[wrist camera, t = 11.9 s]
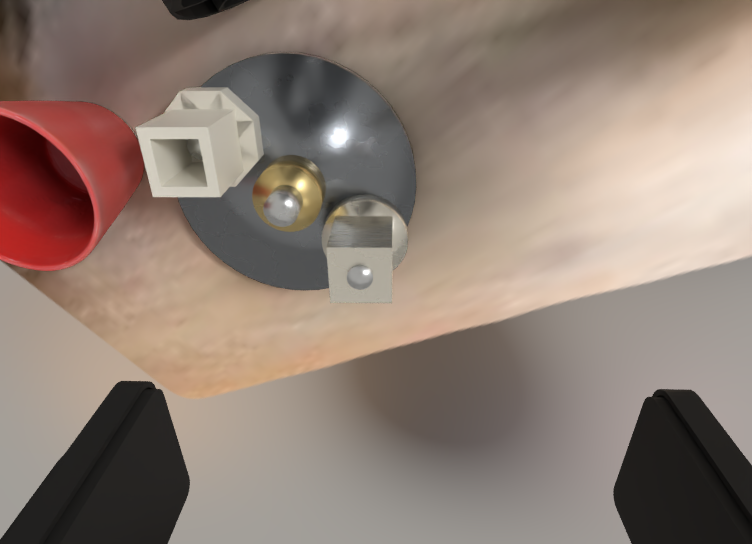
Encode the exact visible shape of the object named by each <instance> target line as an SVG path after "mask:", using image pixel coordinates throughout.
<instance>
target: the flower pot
mask: <svg viewBox="0 0 752 544" xmlns="http://www.w3.org/2000/svg"><path fill="white" fill-rule="evenodd" d="M143 171H144V161H143V156H142V152H141V148H140V144H139V142H138V140H137V138H136V136H135V135H134V133H133V132H132V130H131V129H130V128H129V127H128V126H127V124H126V123H125V122H124V121H123V120H122V119H121V118H119V117H118V116H117V115H116V114H114V113H113V112H111V111H110V110H108V109H106V108H104V107H102V106H99V105H96V104H93V103H88V102H70V101H0V260H2V261H5V262H7V263H10V264H13V265H16V266H19V267H23V268H28V269H33V270H41V271H54V270H61V269H65V268H68V267H71V266H73V265H75V264H77V263H79V262H81V261H82V260H84V259H85V258H86V257H87V256H88V255H89V254H90V253H91V252H92V250H93V249H94V248H95V246H96V245H97V244H98V242H99V241H100V240H101V238H102V237H103V235H104V234H105V233H106V231H107V230H108V228H109V227H110V226H111V224H112V223H113V222H114V220H115V219H116V218H117V216H118V215H119V213H120V212H121V211H122V209H123V208H124V206H125V205H126V203H127V202H128V200H129V199H130V197H131V196H132V194H133V193H134V191H135V190H136V188H137V187H138V185H139V183H140V181H141V179H142V176H143Z"/></svg>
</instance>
